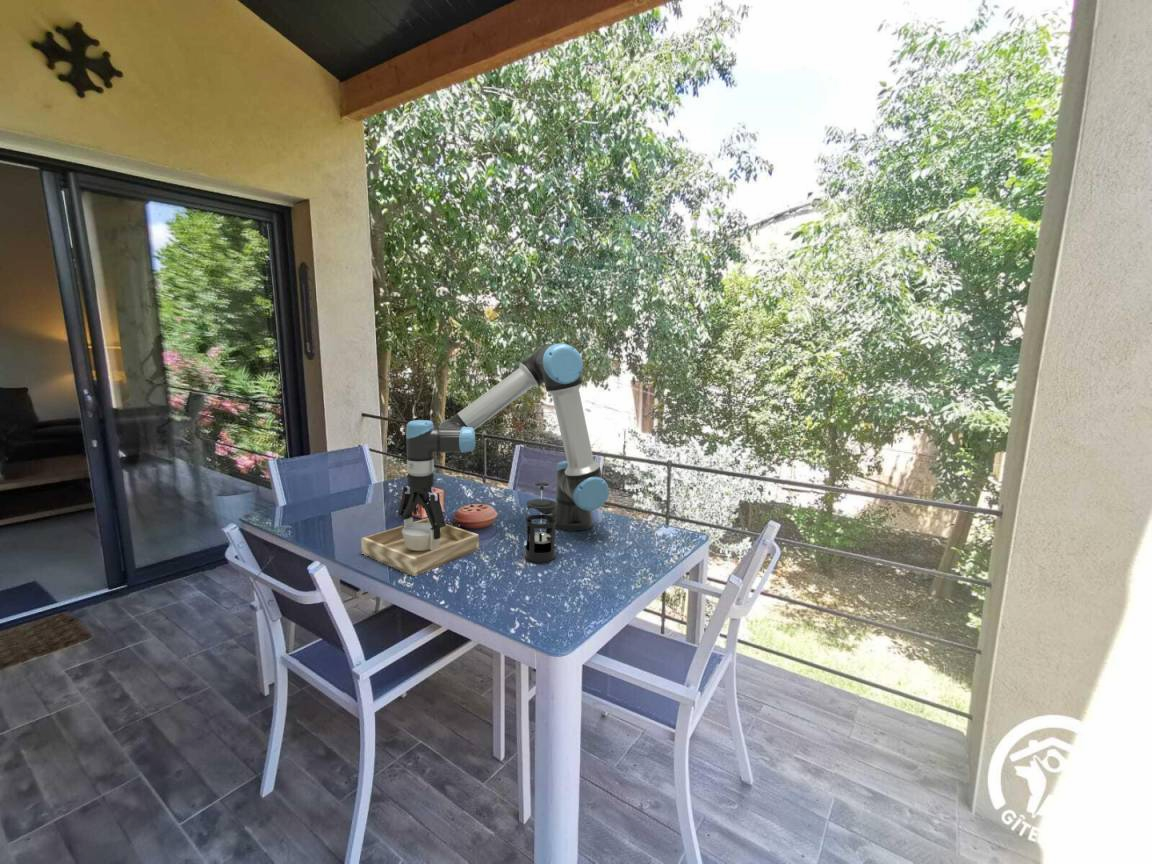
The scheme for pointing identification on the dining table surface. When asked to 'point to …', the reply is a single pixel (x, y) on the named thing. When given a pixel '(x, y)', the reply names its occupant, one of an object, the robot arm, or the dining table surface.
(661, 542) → the dining table surface
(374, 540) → the pine tray
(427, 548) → the ramekin
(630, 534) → the dining table surface
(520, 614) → the dining table surface
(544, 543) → the french press
